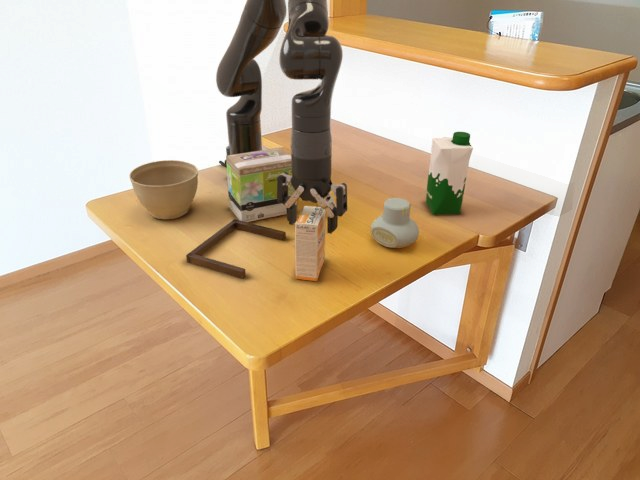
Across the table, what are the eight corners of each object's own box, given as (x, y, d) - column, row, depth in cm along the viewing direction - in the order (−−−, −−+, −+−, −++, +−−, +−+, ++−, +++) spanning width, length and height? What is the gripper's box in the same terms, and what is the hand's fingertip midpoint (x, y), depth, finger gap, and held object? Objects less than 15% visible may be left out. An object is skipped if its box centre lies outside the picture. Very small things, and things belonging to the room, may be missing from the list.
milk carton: (464, 215, 130) (477, 140, 120) (430, 216, 129) (440, 140, 119) (454, 200, 138) (465, 128, 127) (421, 201, 137) (429, 128, 127)
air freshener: (364, 240, 119) (366, 201, 114) (384, 227, 124) (387, 190, 119) (403, 257, 113) (407, 217, 108) (423, 243, 118) (428, 204, 113)
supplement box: (317, 282, 104) (318, 225, 97) (295, 279, 105) (294, 223, 98) (325, 260, 111) (326, 206, 104) (304, 258, 112) (303, 204, 105)
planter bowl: (160, 233, 121) (153, 191, 115) (124, 212, 130) (116, 172, 124) (215, 211, 131) (211, 171, 125) (178, 192, 140) (173, 155, 135)
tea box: (242, 225, 124) (238, 168, 117) (229, 208, 132) (224, 154, 125) (298, 212, 130) (297, 158, 123) (282, 197, 138) (280, 145, 131)
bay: (186, 262, 110) (185, 255, 109) (234, 225, 124) (234, 218, 124) (242, 279, 105) (242, 271, 104) (286, 238, 119) (285, 231, 118)
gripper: (354, 150, 95) (351, 226, 103) (287, 138, 100) (289, 212, 108) (338, 163, 89) (336, 243, 97) (267, 151, 94) (271, 228, 102)
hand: (311, 227), depth 103 cm, fingers open, 8 cm apart
